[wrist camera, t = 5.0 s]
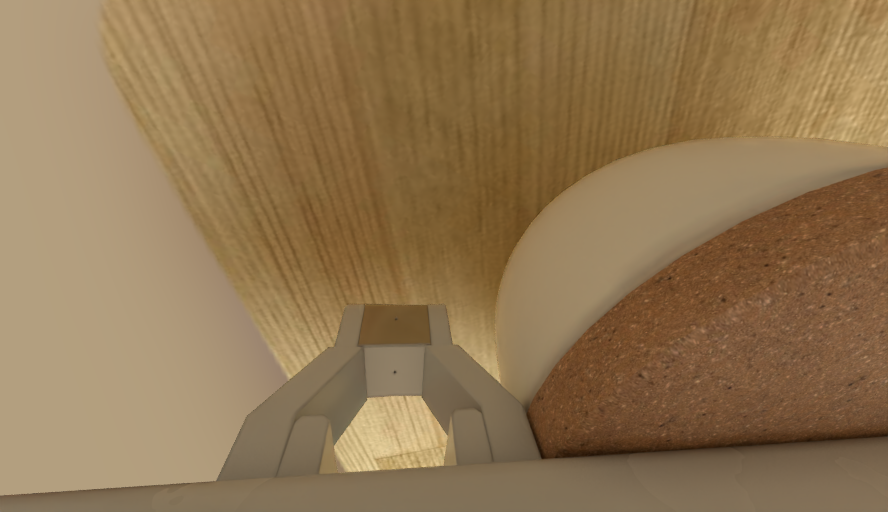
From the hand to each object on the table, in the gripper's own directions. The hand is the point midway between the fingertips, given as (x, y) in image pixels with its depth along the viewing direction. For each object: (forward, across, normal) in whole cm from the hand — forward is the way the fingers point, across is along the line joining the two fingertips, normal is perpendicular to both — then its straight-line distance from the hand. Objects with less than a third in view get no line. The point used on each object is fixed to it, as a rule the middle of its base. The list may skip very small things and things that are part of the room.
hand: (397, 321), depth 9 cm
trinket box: (+3, -8, -1) cm, 9 cm away
